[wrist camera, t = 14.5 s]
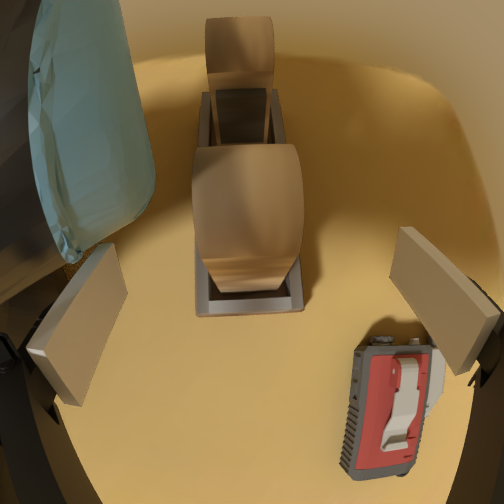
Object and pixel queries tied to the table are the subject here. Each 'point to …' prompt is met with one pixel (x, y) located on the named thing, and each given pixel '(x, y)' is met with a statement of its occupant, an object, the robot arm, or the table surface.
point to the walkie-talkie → (389, 405)
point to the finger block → (248, 214)
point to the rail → (242, 142)
